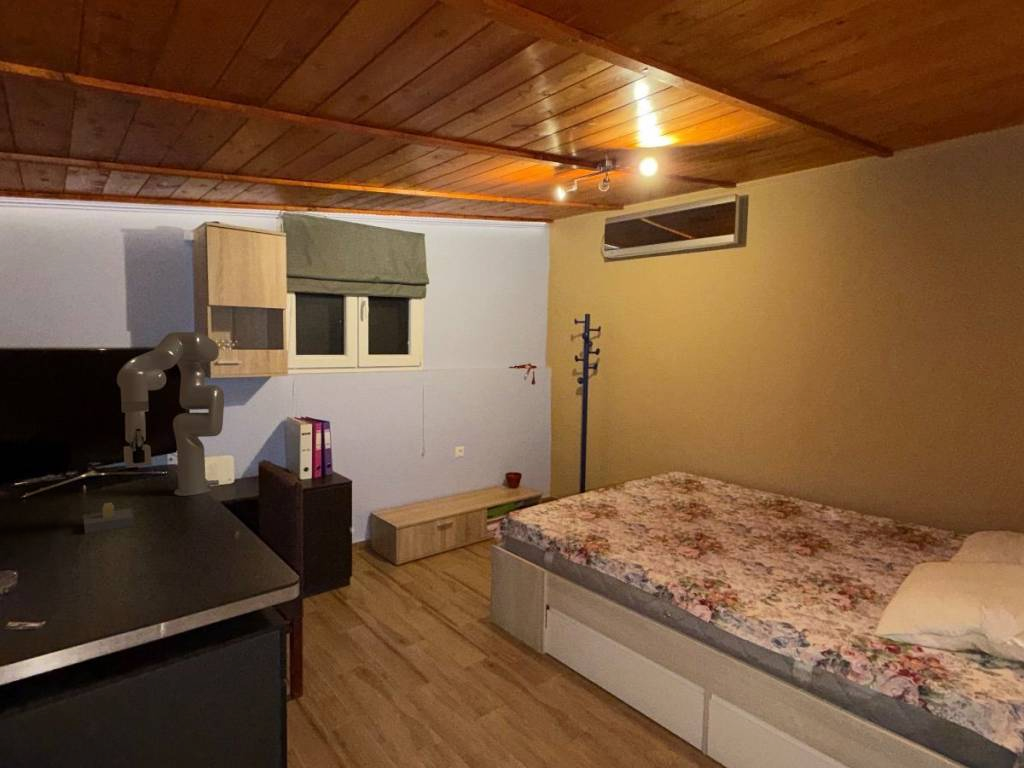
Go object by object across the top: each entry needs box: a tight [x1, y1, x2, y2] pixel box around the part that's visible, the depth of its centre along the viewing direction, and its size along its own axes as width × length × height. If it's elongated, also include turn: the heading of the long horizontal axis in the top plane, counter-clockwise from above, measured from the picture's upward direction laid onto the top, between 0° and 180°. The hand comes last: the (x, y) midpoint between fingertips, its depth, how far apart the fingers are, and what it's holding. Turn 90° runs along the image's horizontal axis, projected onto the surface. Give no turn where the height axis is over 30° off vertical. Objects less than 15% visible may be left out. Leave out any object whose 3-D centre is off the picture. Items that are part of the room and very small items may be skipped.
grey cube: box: [123, 444, 152, 469], centre depth 200 cm, size 7×7×6 cm
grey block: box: [82, 502, 135, 534], centre depth 196 cm, size 13×13×7 cm
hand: (137, 460), depth 200 cm, fingers closed on grey cube, 6 cm apart
